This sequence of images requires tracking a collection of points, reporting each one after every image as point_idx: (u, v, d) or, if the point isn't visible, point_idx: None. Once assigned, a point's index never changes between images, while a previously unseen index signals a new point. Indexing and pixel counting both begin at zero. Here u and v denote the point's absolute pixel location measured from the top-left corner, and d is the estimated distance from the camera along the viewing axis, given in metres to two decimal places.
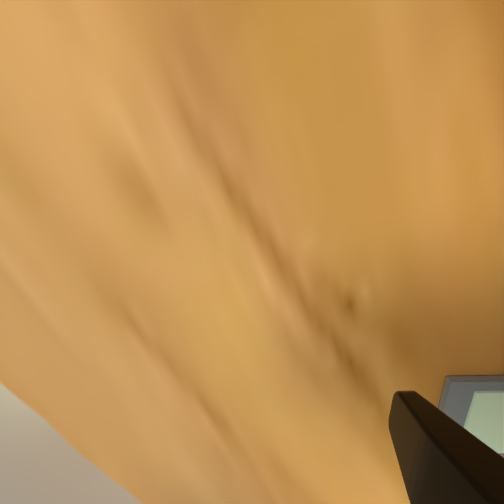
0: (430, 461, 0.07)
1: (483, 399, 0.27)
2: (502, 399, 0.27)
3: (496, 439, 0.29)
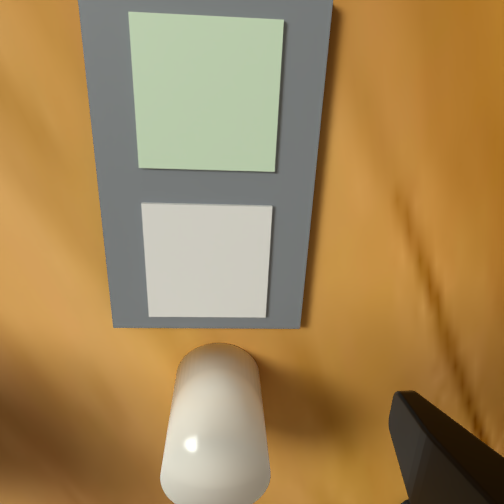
0: (430, 461, 0.07)
1: (147, 29, 0.15)
2: (183, 32, 0.15)
3: (200, 135, 0.16)
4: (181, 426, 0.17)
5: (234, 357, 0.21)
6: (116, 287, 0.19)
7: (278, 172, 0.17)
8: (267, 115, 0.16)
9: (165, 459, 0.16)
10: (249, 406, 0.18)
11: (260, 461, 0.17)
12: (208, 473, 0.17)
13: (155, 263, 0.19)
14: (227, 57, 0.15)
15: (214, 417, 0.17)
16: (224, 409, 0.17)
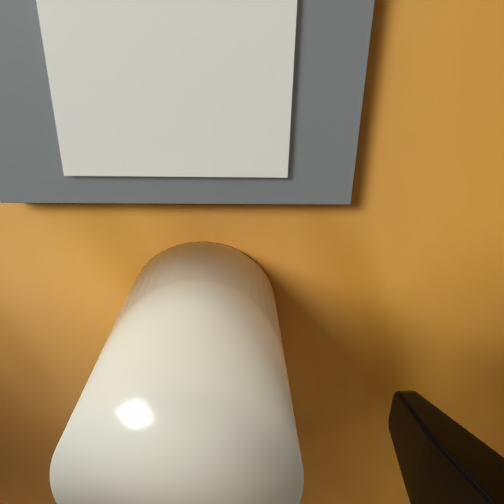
0: (430, 461, 0.07)
1: None
2: None
3: None
4: (101, 372, 0.08)
5: (228, 261, 0.11)
6: None
7: None
8: None
9: (58, 444, 0.07)
10: (255, 335, 0.09)
11: (281, 449, 0.07)
12: (161, 475, 0.07)
13: (65, 50, 0.09)
14: None
15: (173, 350, 0.07)
16: (198, 335, 0.08)
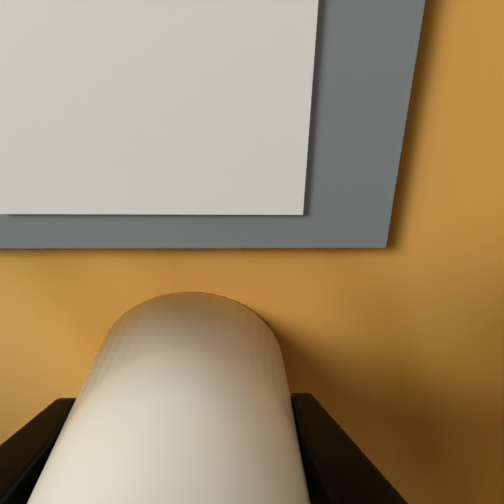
0: (306, 465, 0.07)
1: None
2: None
3: None
4: None
5: (221, 321, 0.08)
6: None
7: None
8: None
9: None
10: (261, 451, 0.06)
11: None
12: None
13: None
14: None
15: None
16: (175, 475, 0.05)
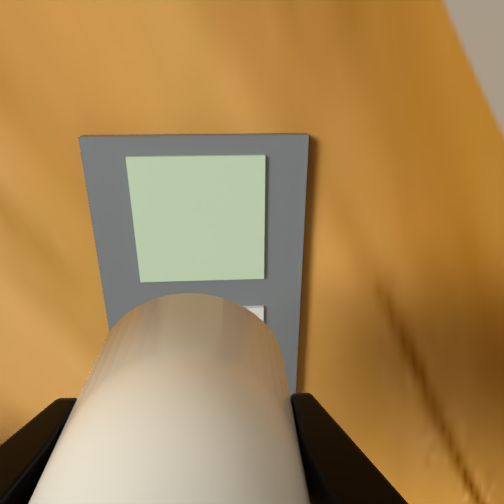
0: (306, 465, 0.07)
1: (142, 170, 0.17)
2: (175, 170, 0.17)
3: (195, 253, 0.18)
4: None
5: (221, 322, 0.08)
6: None
7: (267, 278, 0.19)
8: (254, 233, 0.18)
9: None
10: (262, 452, 0.06)
11: None
12: None
13: None
14: (216, 188, 0.17)
15: None
16: (176, 476, 0.05)
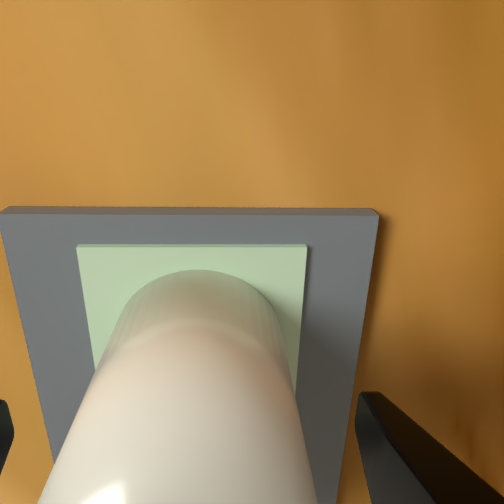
0: (388, 462, 0.07)
1: (105, 268, 0.10)
2: (159, 268, 0.10)
3: None
4: (67, 461, 0.06)
5: (226, 294, 0.09)
6: None
7: None
8: None
9: None
10: (263, 394, 0.07)
11: None
12: None
13: None
14: None
15: (161, 431, 0.06)
16: (193, 407, 0.06)
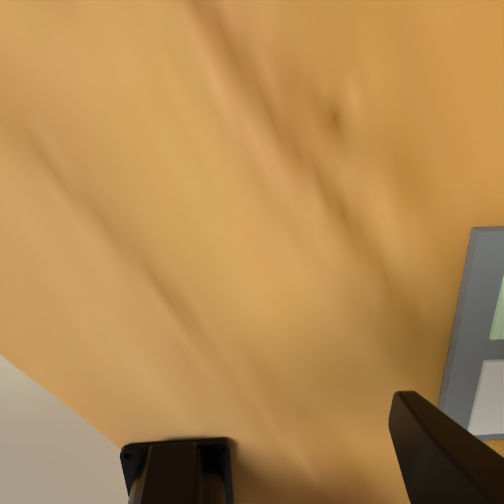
0: (430, 461, 0.07)
1: None
2: None
3: None
4: None
5: None
6: None
7: None
8: None
9: None
10: None
11: None
12: None
13: (484, 400, 0.24)
14: None
15: None
16: None
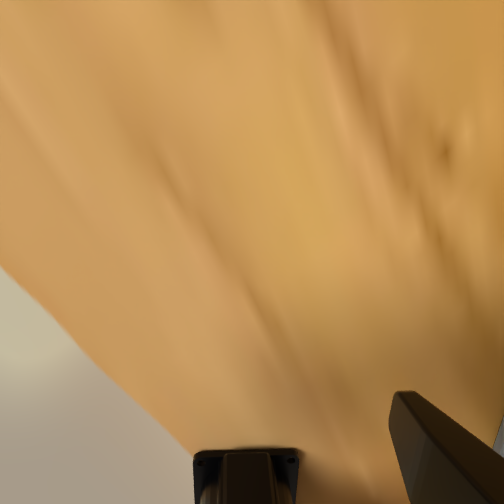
0: (430, 461, 0.07)
1: None
2: None
3: None
4: None
5: None
6: None
7: None
8: None
9: None
10: None
11: None
12: None
13: None
14: None
15: None
16: None
